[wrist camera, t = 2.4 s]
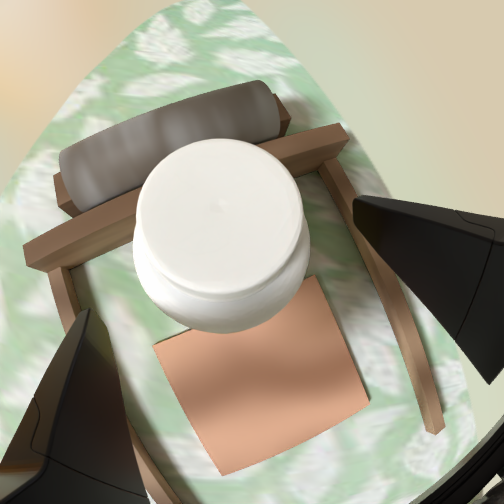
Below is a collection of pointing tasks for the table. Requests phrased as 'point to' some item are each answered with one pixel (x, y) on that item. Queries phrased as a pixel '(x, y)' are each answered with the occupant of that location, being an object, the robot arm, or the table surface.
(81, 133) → the table surface
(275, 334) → the frame
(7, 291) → the table surface
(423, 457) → the table surface
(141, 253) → the supplement bottle
